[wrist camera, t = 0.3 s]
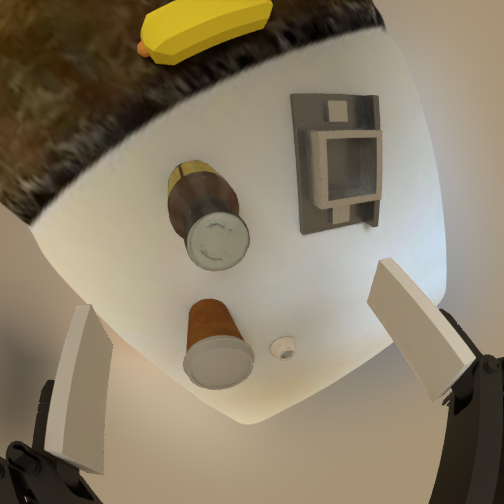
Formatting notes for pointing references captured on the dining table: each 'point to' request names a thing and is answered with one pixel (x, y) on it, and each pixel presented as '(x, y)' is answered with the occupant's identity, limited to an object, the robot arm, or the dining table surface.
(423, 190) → the dining table surface
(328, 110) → the bottle holder
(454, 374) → the robot arm
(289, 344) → the lidless jar
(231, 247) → the sauce bottle
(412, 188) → the dining table surface
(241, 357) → the disposable coffee cup
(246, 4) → the hot dog
